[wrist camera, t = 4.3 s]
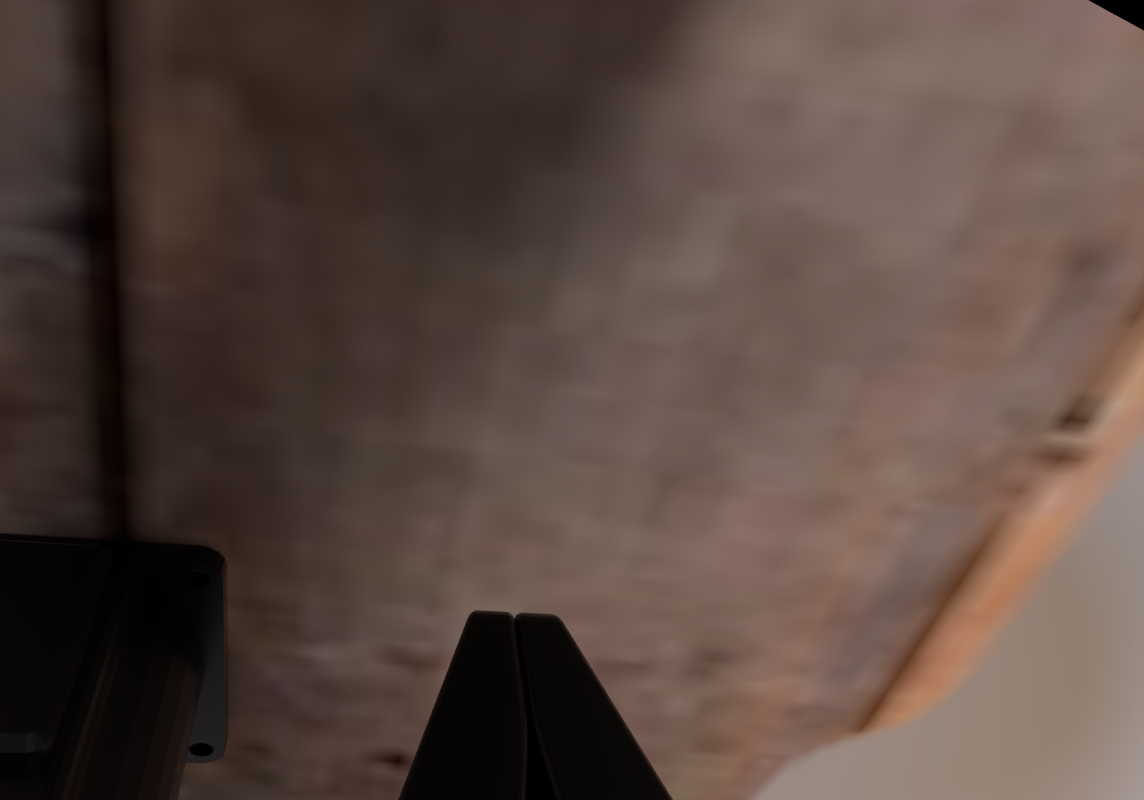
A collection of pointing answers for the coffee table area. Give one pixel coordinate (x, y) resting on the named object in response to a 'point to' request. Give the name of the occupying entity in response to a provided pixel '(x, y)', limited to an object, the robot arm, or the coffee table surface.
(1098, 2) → the coffee box
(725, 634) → the coffee table surface
